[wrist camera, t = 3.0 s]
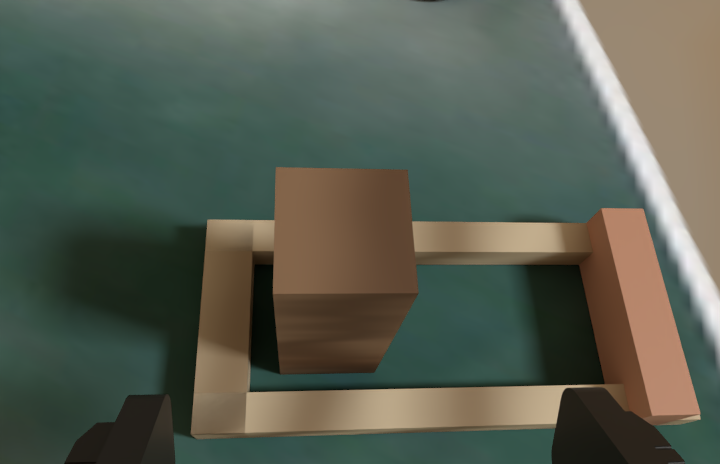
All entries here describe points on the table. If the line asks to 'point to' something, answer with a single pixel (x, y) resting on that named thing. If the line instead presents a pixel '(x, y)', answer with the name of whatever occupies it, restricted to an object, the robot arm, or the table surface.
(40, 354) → the table surface
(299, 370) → the block
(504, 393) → the frame
